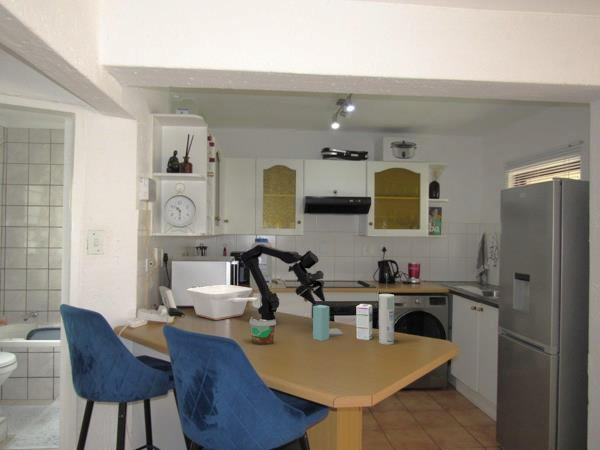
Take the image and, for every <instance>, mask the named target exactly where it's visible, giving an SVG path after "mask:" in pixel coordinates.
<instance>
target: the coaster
mask: <svg viewBox="0 0 600 450" xmlns="http://www.w3.org/2000/svg"><path fill="white" fill-rule="evenodd" d="M332 336H333V337H334V336H344V333H343V331H342V330H340V329H339V328H333V327H332V328H329V337H332Z"/></svg>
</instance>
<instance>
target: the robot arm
mask: <svg viewBox="0 0 600 450" xmlns="http://www.w3.org/2000/svg"><path fill="white" fill-rule="evenodd" d="M262 255H267V256H270V257H273V258H277V259H279V260H280V261H281V262H283V263H285V264H287V265H288V270H287V272H293V273H294V275H295V277H296V281H297V283H298V282H299V283H300V285H299V286H298V287H296V288H295V292H294V293H295V295H297V296H299V297H302V298H303V299H305V301H308V302H309V303H311V304H313V306H316V304H317V301H316V300H315V298H314V296H313V294H314V295H315V296H316V297H317V298H318V299H319V300H321V301H322V302H323V303H324V302H326V298H325V295H324V290H323V288H324V287H325V281H324V280H323V279H324V276H325V273H324V272H323V271H322V270H317V271H316V272H314V273H312V272H308V270H307V269H309V270H310V269H312V267H314V266H315V265H316V264H317V263H319V257H318V255H316V254H315V253H313V252H312V251H311V250H307V252H306V253H305V254H303V255H301V254H299V252H297V251H294V250H293V251H291V250H281V249H279V248H275V247H271V246H268V245H265V244H257V245H255V246H253V247H252V248H250V249H248V250H247V251H244V252H243V253H242V254H241V256H240V260H241V262H242V263H243V265H244V267H245V268H247V269H248V270H249V271H250V273H251V275H252V278H253V280H254V282H255V284H256V286H257V288H258V291H259V293H260V295H261V296H260V297H261V298H260V302H261V305H260V306H259V308H258V309H257V312H258V314H260V319H265V320H268V321H269V320H275V321H276V315H275V313H276V312H277V311H278V310H277V309H279V306H280V298H279V297H278V295H277V292H272V291H271V289H270V287H269V286H268V284H267V283H268V282H267V281H266V278H265V277H264V274H263V273H262V270H261V268H260V265H259V264H260V260H259V258H260V257H261V256H262ZM291 264H292V265H291Z"/></svg>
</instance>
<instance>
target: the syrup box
mask: <svg viewBox="0 0 600 450" xmlns="http://www.w3.org/2000/svg"><path fill="white" fill-rule="evenodd" d="M355 314H356V316H355V317H356V318H355V319H356V339H357V340H361V341H363V340H364V341H370V340H371V339H372V338H373V337H374V336H373V305H372V304H369V303H360V304H359V305H357V306H356V313H355Z"/></svg>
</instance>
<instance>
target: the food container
mask: <svg viewBox="0 0 600 450" xmlns="http://www.w3.org/2000/svg"><path fill="white" fill-rule="evenodd" d="M248 323H249V325H250V328H251V329H250V330H251V331H250V334H251V342H252V344H253V345H256V346H257V345H258V346H267V345H272V344H274V337H275V327H276V325H277V321H276V319H275V320H269V321H268V320H265V319H261V318H260V319H258V318H257V319H256V318H254V317H253V316H251V317H250V319H249V322H248Z"/></svg>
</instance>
